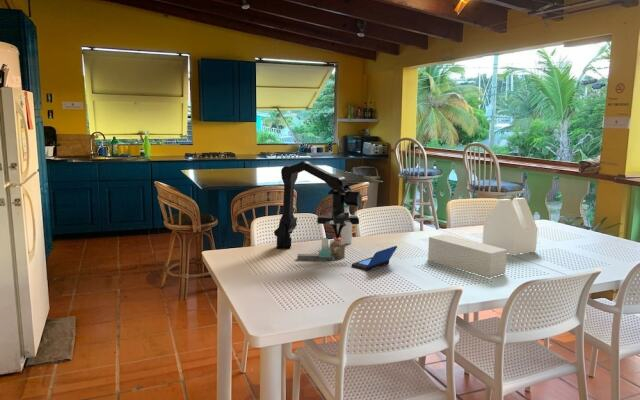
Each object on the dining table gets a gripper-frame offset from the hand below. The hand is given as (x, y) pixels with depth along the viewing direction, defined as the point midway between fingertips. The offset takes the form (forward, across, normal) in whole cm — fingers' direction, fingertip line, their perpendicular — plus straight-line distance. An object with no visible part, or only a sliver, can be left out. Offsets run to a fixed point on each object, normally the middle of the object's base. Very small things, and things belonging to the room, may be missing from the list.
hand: (337, 238), depth 226 cm
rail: (+8, -10, -7) cm, 14 cm away
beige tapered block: (+8, +85, +13) cm, 86 cm away
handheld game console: (+8, +15, -17) cm, 24 cm away
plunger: (+4, 0, 0) cm, 4 cm away
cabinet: (+8, 0, 0) cm, 8 cm away
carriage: (+6, -6, -7) cm, 11 cm away
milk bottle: (+8, +5, +23) cm, 25 cm away
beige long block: (+8, +54, -17) cm, 57 cm away
